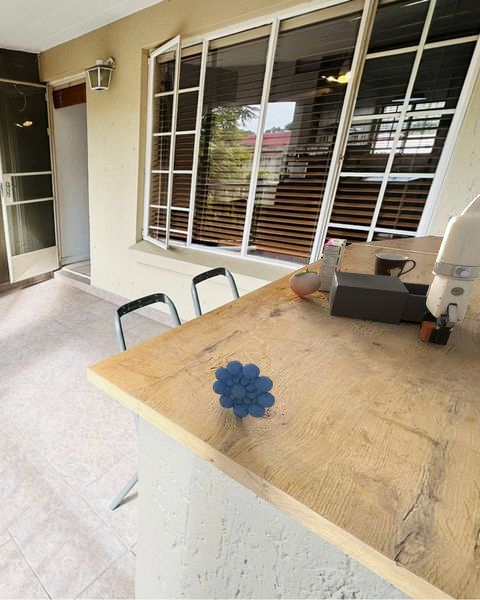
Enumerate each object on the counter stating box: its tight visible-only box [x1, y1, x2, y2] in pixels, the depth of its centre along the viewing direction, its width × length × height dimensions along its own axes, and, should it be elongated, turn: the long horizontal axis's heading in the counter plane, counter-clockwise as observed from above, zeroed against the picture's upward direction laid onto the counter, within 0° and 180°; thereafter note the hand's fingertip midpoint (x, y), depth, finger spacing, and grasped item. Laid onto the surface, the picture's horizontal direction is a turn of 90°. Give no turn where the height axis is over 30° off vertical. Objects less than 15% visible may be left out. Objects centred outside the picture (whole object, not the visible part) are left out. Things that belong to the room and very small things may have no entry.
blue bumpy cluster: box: [212, 359, 276, 419], centre depth 64 cm, size 12×7×12 cm, turn 35°
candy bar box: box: [317, 238, 348, 293], centre depth 122 cm, size 11×5×16 cm, turn 137°
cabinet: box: [328, 271, 409, 326], centre depth 104 cm, size 16×15×10 cm
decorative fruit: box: [288, 268, 321, 298], centre depth 116 cm, size 9×8×10 cm
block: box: [418, 321, 441, 343], centre depth 87 cm, size 4×4×4 cm
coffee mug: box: [373, 253, 417, 278], centre depth 122 cm, size 12×9×10 cm
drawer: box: [400, 281, 471, 323], centre depth 98 cm, size 19×13×8 cm
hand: (432, 336), depth 88 cm, fingers open, 7 cm apart
